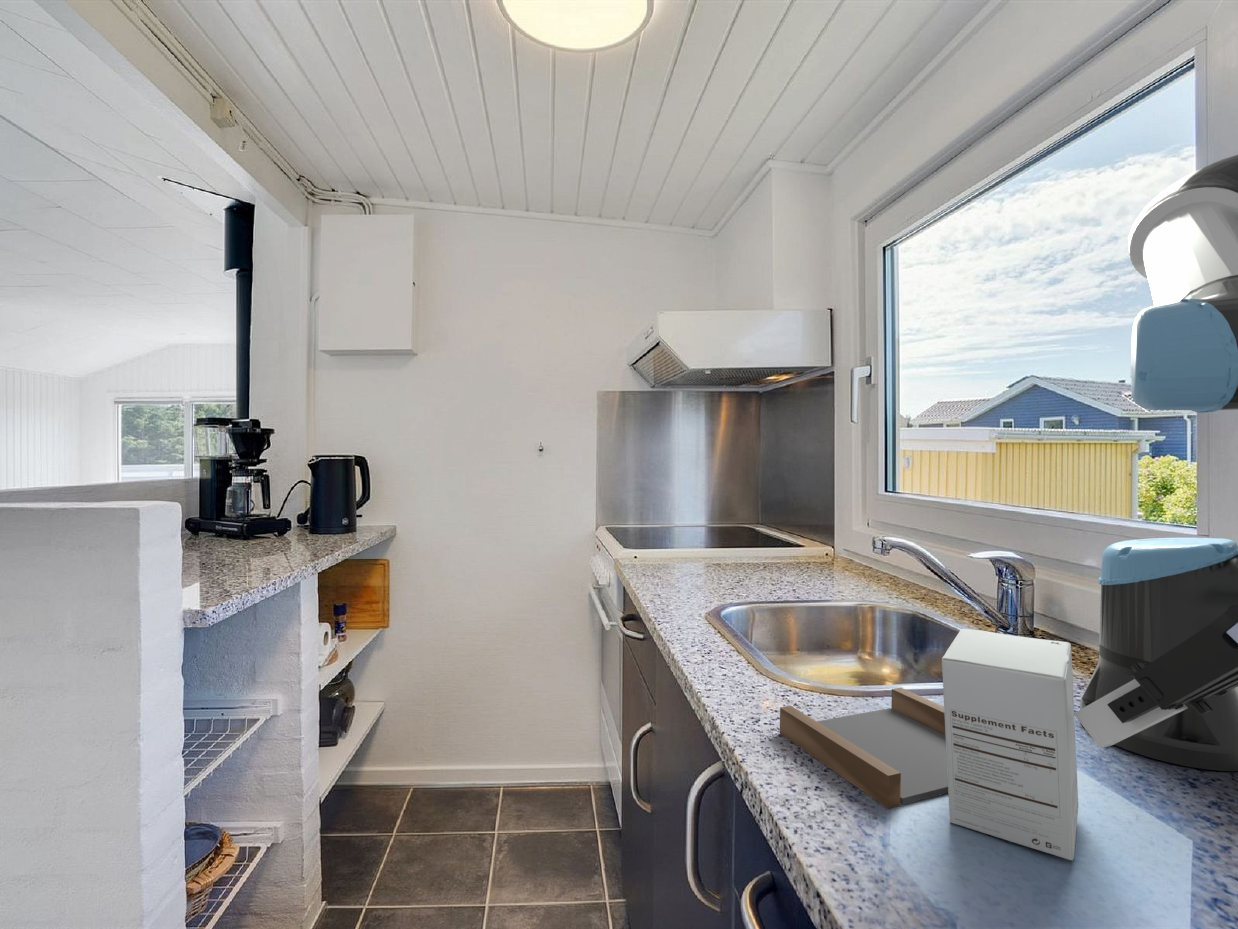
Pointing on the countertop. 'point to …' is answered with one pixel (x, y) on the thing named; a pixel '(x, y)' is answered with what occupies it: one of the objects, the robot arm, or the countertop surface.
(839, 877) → the countertop surface
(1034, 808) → the supplement box
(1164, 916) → the countertop surface
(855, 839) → the countertop surface
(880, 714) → the mat
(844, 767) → the rails
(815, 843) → the countertop surface
